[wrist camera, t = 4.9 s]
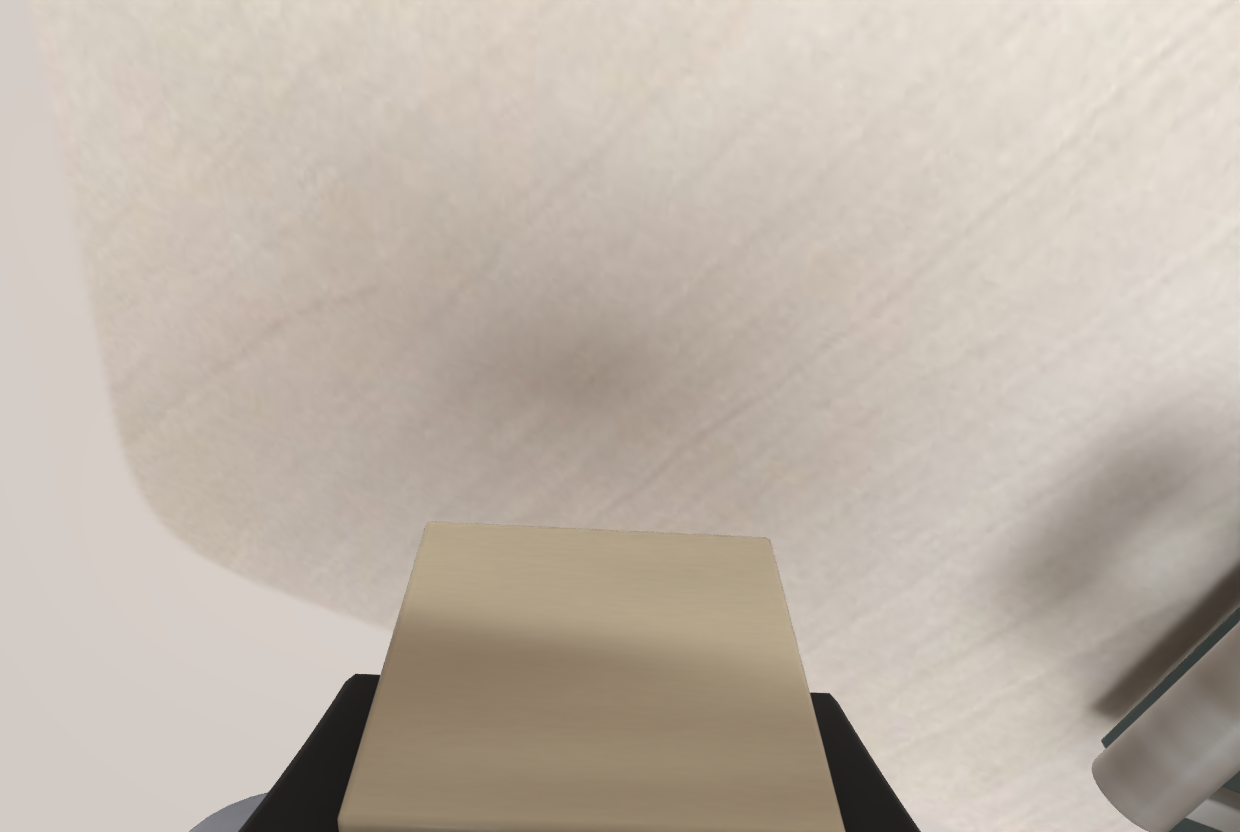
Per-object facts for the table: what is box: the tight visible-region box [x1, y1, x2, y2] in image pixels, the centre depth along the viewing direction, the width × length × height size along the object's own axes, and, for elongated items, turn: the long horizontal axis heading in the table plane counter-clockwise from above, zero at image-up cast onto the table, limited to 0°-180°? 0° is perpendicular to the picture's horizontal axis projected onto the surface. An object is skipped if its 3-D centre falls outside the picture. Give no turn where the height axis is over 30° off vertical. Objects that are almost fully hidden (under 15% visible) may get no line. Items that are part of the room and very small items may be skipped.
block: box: [337, 522, 845, 832], centre depth 10 cm, size 4×4×4 cm
